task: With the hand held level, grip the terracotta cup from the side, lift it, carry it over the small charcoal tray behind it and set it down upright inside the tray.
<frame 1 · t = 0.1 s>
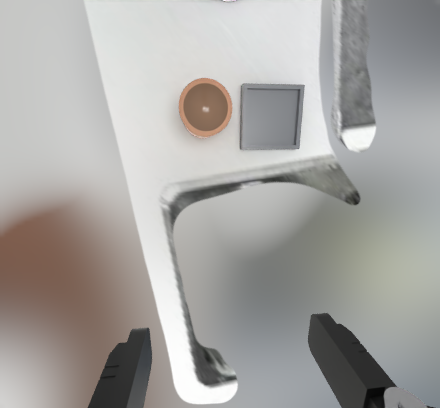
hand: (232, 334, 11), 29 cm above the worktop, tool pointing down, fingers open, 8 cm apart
cup: (202, 118, 36), on the worktop
tray: (269, 118, 37), on the worktop
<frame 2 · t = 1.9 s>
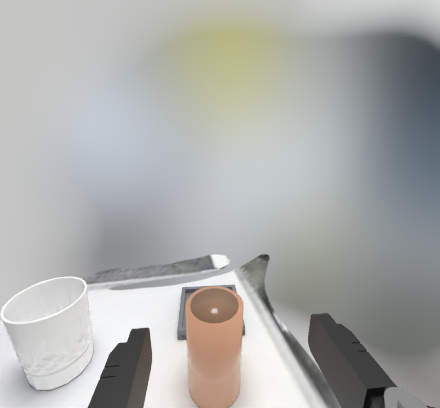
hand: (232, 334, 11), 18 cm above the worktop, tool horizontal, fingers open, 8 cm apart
cup: (214, 382, 26), on the worktop
tray: (210, 312, 37), on the worktop
white cup: (63, 364, 28), on the worktop
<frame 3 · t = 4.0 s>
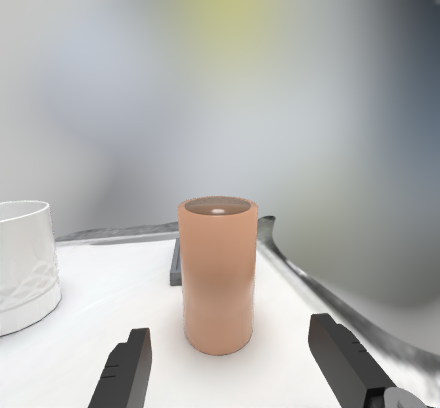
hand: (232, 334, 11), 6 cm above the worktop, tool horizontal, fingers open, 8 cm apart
cup: (218, 324, 20), on the worktop
tray: (210, 261, 30), on the worktop
white cup: (20, 311, 22), on the worktop
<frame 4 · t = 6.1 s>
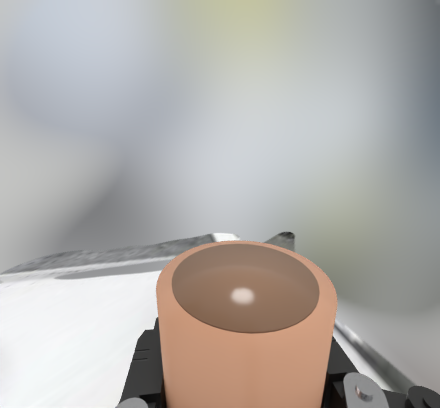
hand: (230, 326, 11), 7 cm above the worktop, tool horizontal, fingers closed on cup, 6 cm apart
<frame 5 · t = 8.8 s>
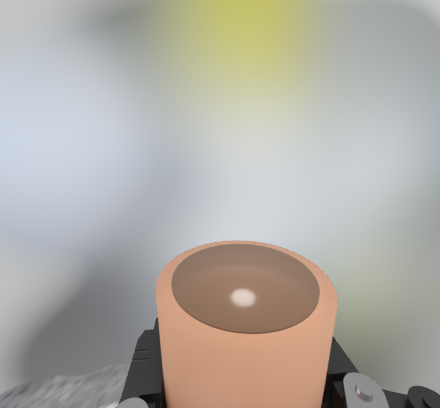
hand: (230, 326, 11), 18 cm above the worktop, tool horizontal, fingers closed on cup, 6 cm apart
when the fingers open (9 cm above the worktop, at t = 11.7 s): cup drops 1 cm, resting on tray.
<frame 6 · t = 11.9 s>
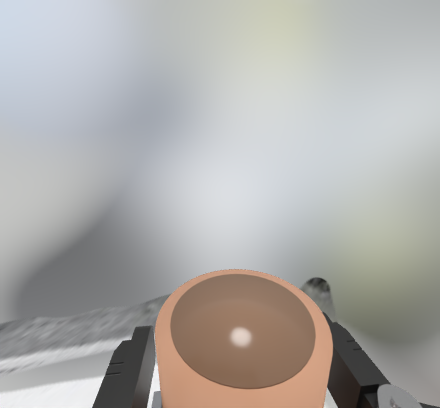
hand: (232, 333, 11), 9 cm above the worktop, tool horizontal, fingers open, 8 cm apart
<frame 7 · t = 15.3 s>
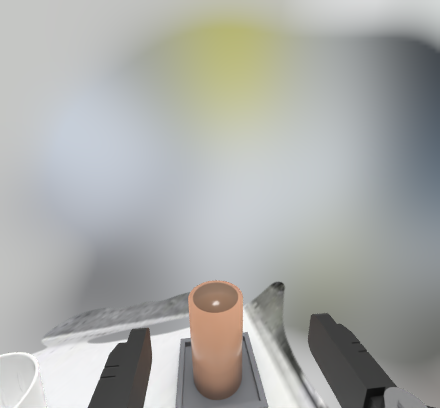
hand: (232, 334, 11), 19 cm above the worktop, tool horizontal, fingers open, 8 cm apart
cup: (217, 373, 27), point 1 cm above the worktop, touching tray
tray: (218, 377, 28), on the worktop
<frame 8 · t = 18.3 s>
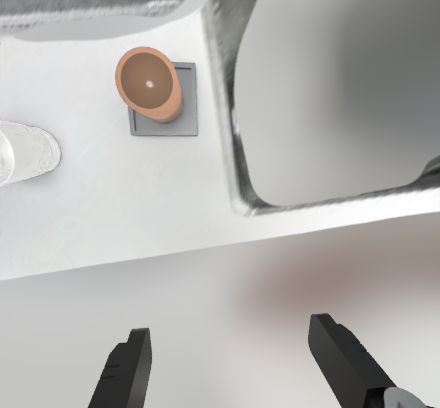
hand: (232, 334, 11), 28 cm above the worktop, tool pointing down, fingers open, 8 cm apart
cup: (162, 101, 33), point 1 cm above the worktop, touching tray
tray: (163, 101, 33), on the worktop
white cup: (38, 150, 33), on the worktop
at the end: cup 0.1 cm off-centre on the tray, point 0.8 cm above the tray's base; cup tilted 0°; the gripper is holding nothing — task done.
